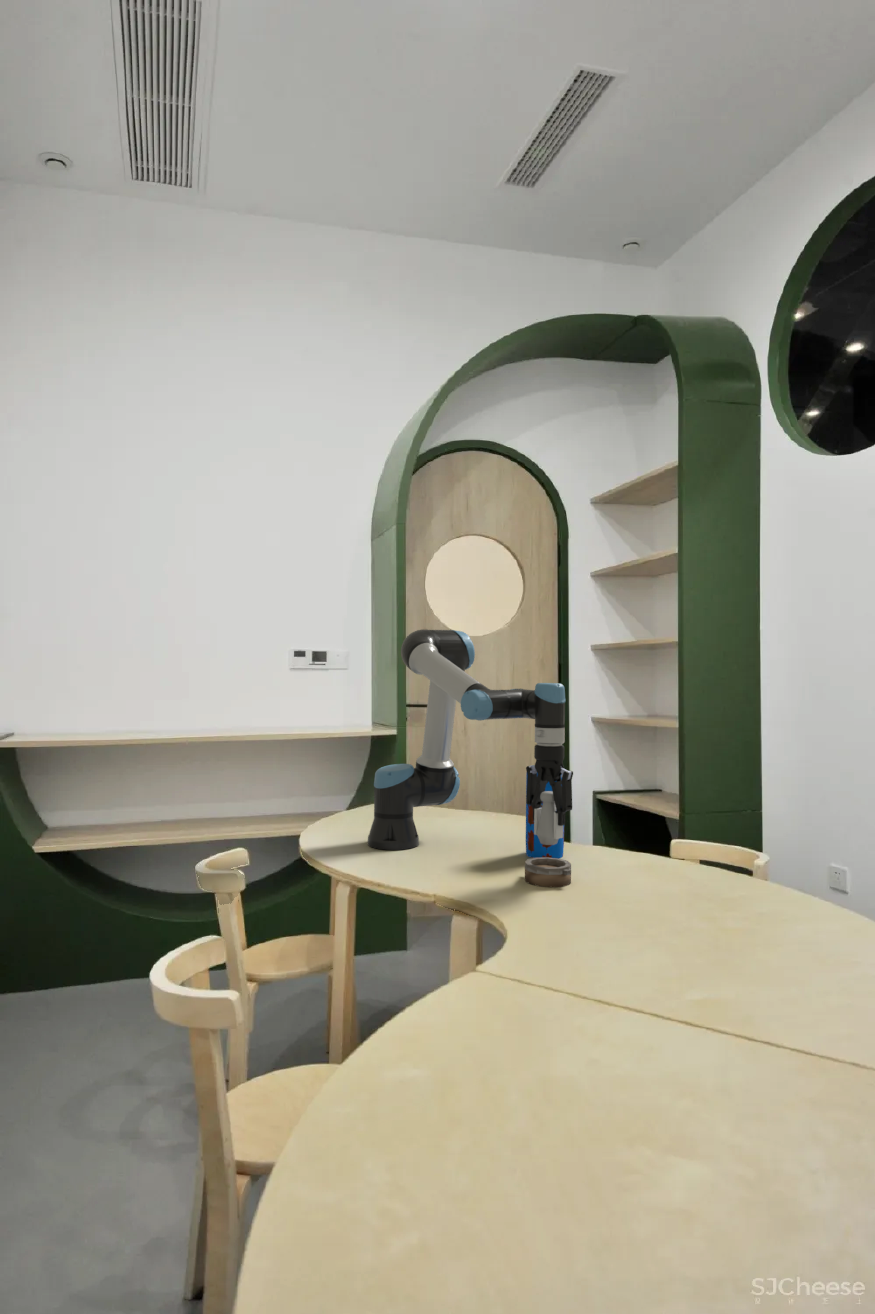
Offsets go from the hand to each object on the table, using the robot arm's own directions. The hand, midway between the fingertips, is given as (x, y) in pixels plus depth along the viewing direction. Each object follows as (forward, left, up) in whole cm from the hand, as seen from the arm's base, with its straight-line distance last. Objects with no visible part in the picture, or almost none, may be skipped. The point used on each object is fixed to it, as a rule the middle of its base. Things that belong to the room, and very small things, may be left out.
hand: (548, 835), depth 208 cm
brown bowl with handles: (0, 0, -11) cm, 11 cm away
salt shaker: (0, 0, -2) cm, 2 cm away
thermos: (-19, +19, -12) cm, 29 cm away
